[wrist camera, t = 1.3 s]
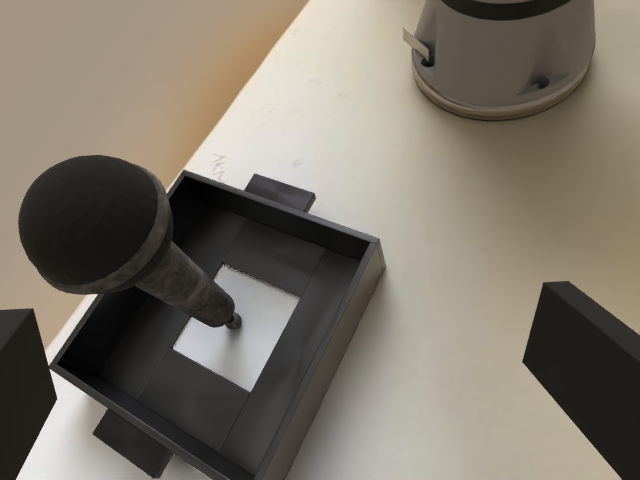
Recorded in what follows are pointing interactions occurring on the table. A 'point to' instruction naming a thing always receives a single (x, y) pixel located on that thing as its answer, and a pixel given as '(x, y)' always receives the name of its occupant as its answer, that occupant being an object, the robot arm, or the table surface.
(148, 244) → the microphone
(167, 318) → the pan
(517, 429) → the table surface
